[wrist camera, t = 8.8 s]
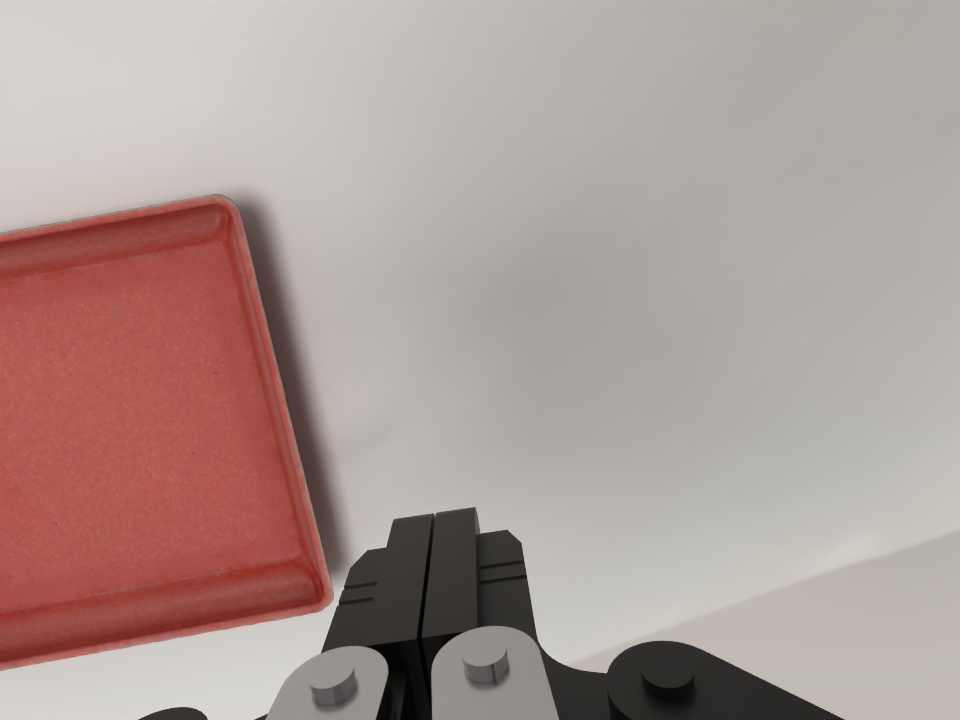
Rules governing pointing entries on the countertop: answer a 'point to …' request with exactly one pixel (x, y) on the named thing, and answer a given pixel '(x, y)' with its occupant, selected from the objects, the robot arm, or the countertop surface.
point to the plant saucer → (144, 438)
